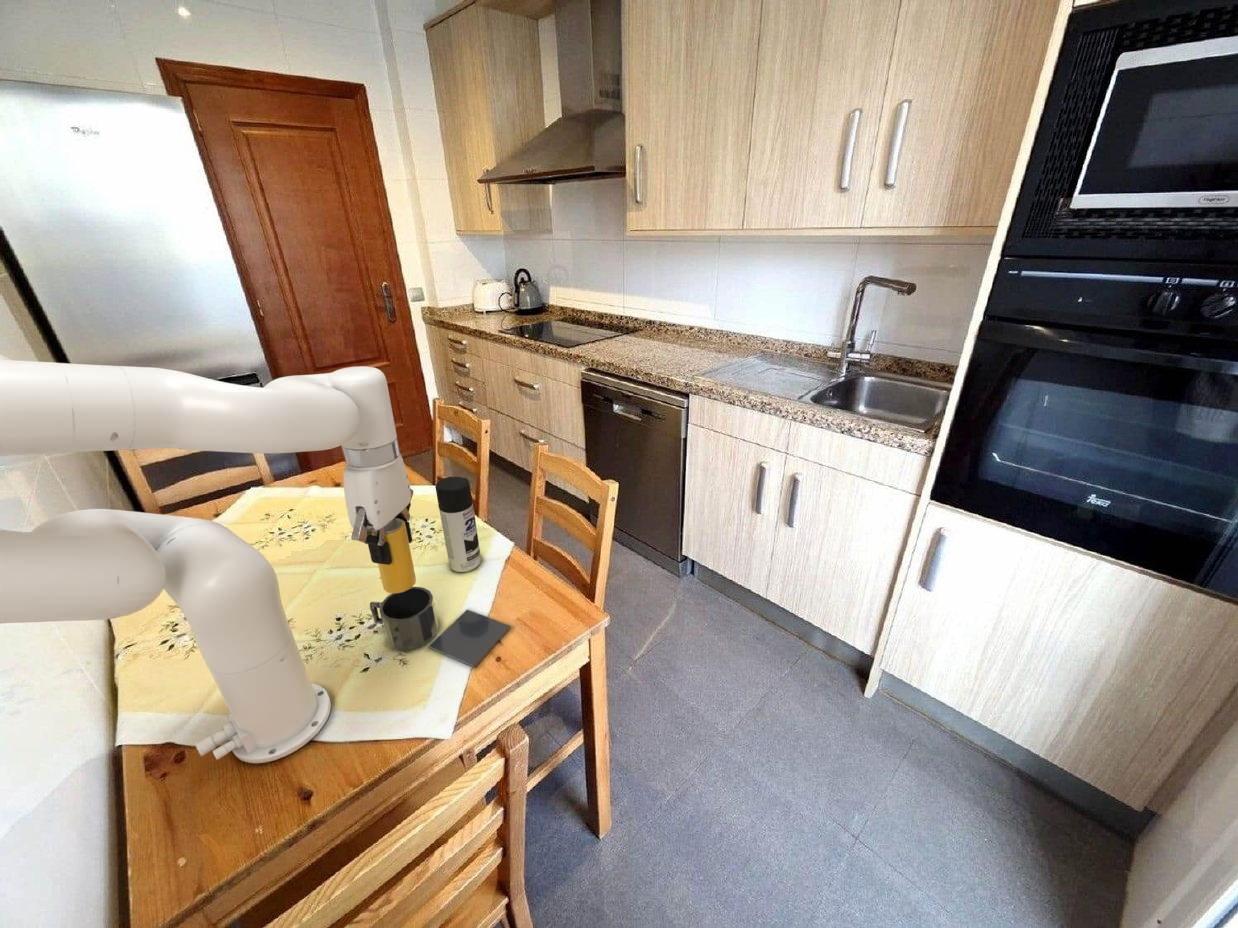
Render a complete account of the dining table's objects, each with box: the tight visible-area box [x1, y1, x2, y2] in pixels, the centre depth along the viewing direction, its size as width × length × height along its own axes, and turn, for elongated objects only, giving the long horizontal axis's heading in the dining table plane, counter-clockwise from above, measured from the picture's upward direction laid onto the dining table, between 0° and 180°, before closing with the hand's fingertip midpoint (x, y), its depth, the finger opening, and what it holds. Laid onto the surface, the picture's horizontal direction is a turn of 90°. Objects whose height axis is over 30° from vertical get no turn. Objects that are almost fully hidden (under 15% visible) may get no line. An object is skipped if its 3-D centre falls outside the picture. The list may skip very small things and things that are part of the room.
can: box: [372, 518, 417, 594], centre depth 83 cm, size 5×5×12 cm
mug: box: [369, 586, 439, 652], centre depth 89 cm, size 12×9×7 cm
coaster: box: [428, 609, 511, 669], centre depth 90 cm, size 10×10×1 cm
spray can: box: [435, 476, 482, 573], centre depth 105 cm, size 7×7×20 cm
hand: (392, 550), depth 82 cm, fingers closed on can, 5 cm apart
